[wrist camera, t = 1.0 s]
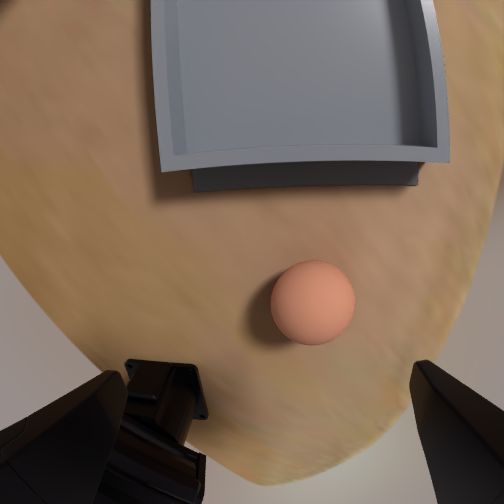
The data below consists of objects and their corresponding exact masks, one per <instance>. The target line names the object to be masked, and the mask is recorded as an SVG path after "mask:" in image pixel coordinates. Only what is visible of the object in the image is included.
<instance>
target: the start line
mask: <svg viewBox="0 0 504 504" xmlns="http://www.w3.org/2000/svg"><path fill="white" fill-rule="evenodd" d="M191 170H192V180H193V189H194V192H205V191H218V190H233V189H249V188H267V187H289V186H318V185H418V162H415V161H374V160H341V161H299V162H276V163H258V164H243V165H230V166H218V167H206V168H196V169H191Z"/></svg>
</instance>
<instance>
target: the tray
mask: <svg viewBox="0 0 504 504" xmlns="http://www.w3.org/2000/svg"><path fill="white" fill-rule="evenodd" d="M151 40H152V64H153V82H154V97H155V110H156V122H157V133H158V144H159V153H160V163H161V171H162V172H168V171H177V170H186V169H196V168H206V167H218V166H230V165H243V164H258V163H276V162H299V161H341V160H374V161H415V162H437V163H450V133H449V111H448V97H447V86H446V76H445V68H444V60H443V53H442V46H441V40H440V34H439V29H438V24H437V19H436V14H435V9H434V5H433V0H151Z"/></svg>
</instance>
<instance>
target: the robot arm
mask: <svg viewBox="0 0 504 504" xmlns="http://www.w3.org/2000/svg"><path fill="white" fill-rule="evenodd" d="M130 364H131V365H130ZM125 367H126V370H127V372H128V375H129V378H130V381H129V382H128V384H127V386H125V383H124V381H123V379H122V376H121V374H120V373H119V372H118V371H113V370H106V371H105V372H103V373H101V374H100V375H98V376H96V377H95V378H93V379H91V380H89V381H88V382H86V383H84V384H83V385H81V386H79V387H78V388H76V389H74V390H73V391H71V392H69V393H67V394H66V395H64V396H62V397H60V398H59V399H57V400H55V401H54V402H52V403H50V404H48V405H47V406H45V407H43V408H42V409H40V410H38V411H36V412H34V413H33V414H31V415H29V416H28V417H26V418H24V419H22V420H20V421H18V422H17V423H15V424H13V425H11V426H9V427H7V428H5V429H3V430H1V431H0V504H201V503H202V501H203V497H204V491H205V470H206V455H204V454H202V453H197V452H195V451H193V450H191V449H189V448H187V447H185V446H184V443H185V440H186V437H187V434H188V431H189V428H190V425H191V422H192V419H199V420H206V419H207V418H208V410H207V406H206V402H205V398H204V394H203V389H202V385H201V381H200V376H199V372H198V368H197V367H196V366H195V365H193V364H182V363H168V362H156V361H145V360H135V359H128V360H127V361H126V362H125ZM191 370H193V371H191ZM409 388H410V394H411V398H412V403H413V408H414V414H415V419H416V424H417V429H418V434H419V437H420V440H421V444H422V447H423V450H424V454H425V457H426V461H427V464H428V468H429V472H430V475H431V479H432V483H433V487H434V491H435V495H436V499H437V503H438V504H504V411H503V410H501V409H500V408H498V407H497V406H496V405H494V404H493V403H491V402H490V401H488V400H487V399H485V398H484V397H482V396H481V395H479V394H478V393H476V392H475V391H474V390H472V389H471V388H469V387H468V386H466V385H465V384H463V383H461V382H460V381H459V380H457V379H456V378H454V377H453V376H451V375H450V374H448V373H447V372H445V371H444V370H442V369H441V368H440V367H438V366H437V365H435V364H434V363H432V362H431V361H429V360H421V361H416V362H415V363H414V365H413V369H412V374H411V378H410V383H409Z"/></svg>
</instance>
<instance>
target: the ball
mask: <svg viewBox="0 0 504 504" xmlns="http://www.w3.org/2000/svg"><path fill="white" fill-rule="evenodd" d="M354 308H355V297H354V291H353V288H352V286H351V284H350V282H349V280H348V279H347V277H346V276H345V275H344V274H343V273H342V272H341V271H340V270H339V269H338V268H336V267H335V266H333V265H331V264H328V263H325V262H322V261H305V262H301V263H298V264H296V265H294V266H292V267H290V268H289V269H288V270H286V271H285V272H284V273H283V274H282V275H281V276H280V277H279V279H278V280H277V282H276V284H275V286H274V288H273V291H272V295H271V312H272V316H273V319H274V321H275V323H276V325H277V327H278V328H279V330H280V331H281V332H282V333H283V334H284V335H285V336H287V337H288V338H289V339H291V340H293V341H295V342H297V343H300V344H304V345H320V344H324V343H327V342H330V341H332V340H333V339H335V338H337V337H338V336H339V335H340V334H342V333H343V332H344V330H345V329H346V328H347V326H348V325H349V323H350V321H351V319H352V316H353V313H354Z"/></svg>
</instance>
